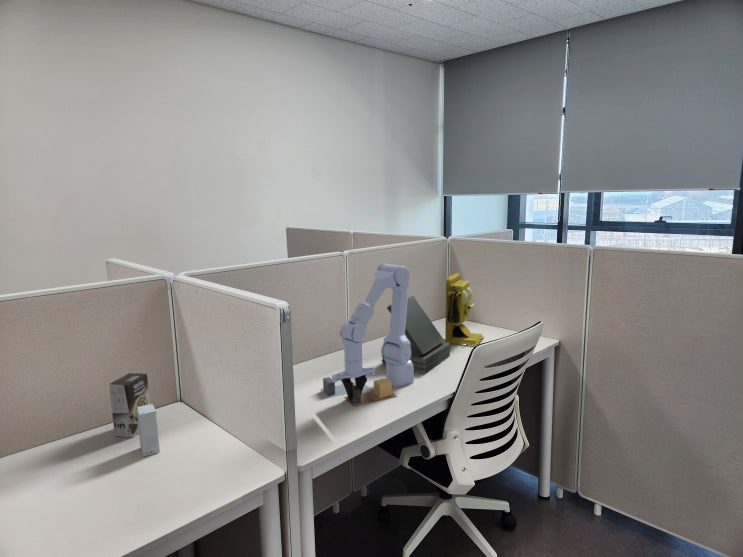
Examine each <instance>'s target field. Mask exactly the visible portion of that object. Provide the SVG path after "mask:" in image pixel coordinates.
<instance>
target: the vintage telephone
mask: <svg viewBox="0 0 743 557" xmlns="http://www.w3.org/2000/svg"><path fill="white" fill-rule="evenodd" d="M472 297H473V290H472V288H471V287H470V281H469V280H462V279H461V274H460V273H459V272H456V273H454V274H452V275H451V276H448V277H447V278H446V280H445V335H444V336H445V339H444V340H445V341H444V342H446V343H455V344H454V345H456V344H458V345H457V346H459V347H460V348H465V347H469V346H468V345H473V346H475V345H477V344H478V345H479V344H480V343H481V342H480V340H481V339H482V337H483V336H484V335H483V334H482V333H476V332H475V333H474V332H471V331H470V329H469V328H468V327H467V326H466V325H465V324H463V323H464V322H465V321H467V319H469V315H470V309H472V307H474V306H475V305H476V304H475V303H474V302H473V303H472V304H470V301H471V300H472ZM482 340H483V339H482ZM482 340H481V341H482ZM479 342H480V343H479ZM459 344H466V346H464V345H463V346H462V345H459ZM478 345H477V346H478Z"/></svg>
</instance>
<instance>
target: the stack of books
mask: <svg viewBox="0 0 743 557" xmlns="http://www.w3.org/2000/svg"><path fill="white" fill-rule="evenodd" d="M391 307H392V304H390V305H388V306H387V307H386V309H387V311H388V312H389V313H390V314H391ZM405 336H406V338H407V339H408V340H409V341H410V348H411V357H410V359H409V360H411V362H412V364H413V367H414V372H415V373H418V374H424V375H426V374H428V373H429V372H431V371H432V370H433V369H435V368H436V367H438V366H439V365H440V364H442V363H443V362H444V361H446V360H447V359H449V358H450V357H451V344H450V343H446V342H445V339H444V337H443V336H442V334H441V333H440V331H439V330H438V328H436V326H435V325H434V324H433V322H432V320H431V319H430V317H429V316H428V314H426V312H425V310H424V309H423V307H422V306H421V305H420V304H419V302H418V300H417V299H416V298H415V296H414V295H412V296H408V300H407V312H406V324H405ZM449 356H450V357H449ZM381 357H382V360H381V362H382V363H381V364H382V366H385V367H386V361H385V358H384V357H383V356H382V354H381ZM448 357H449V358H448ZM445 359H446V360H445ZM442 361H443V362H442ZM441 362H442V363H441ZM437 365H438V366H437Z"/></svg>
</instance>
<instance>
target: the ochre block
mask: <svg viewBox="0 0 743 557" xmlns="http://www.w3.org/2000/svg"><path fill="white" fill-rule="evenodd" d="M392 388H393V386H392V383H391V382H390V381H389V380H387V379H386V377H385V378H381V379H375V380H373V391H374V394H375V395H377V396H378V397H379V398H383V397H387V396H392V393H393V391H392V390H393V389H392Z"/></svg>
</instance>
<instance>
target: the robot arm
mask: <svg viewBox="0 0 743 557" xmlns="http://www.w3.org/2000/svg"><path fill="white" fill-rule="evenodd" d="M374 278H375V279H374V281H373V283H372V285H371V288H370V289H369V291H368V293H367V295H366V297H365V300H364V301H363V302H360V303H358V304H357V306H356V308H355V310H354V311H353V313H352V315H351V317H350V318H349V320H348V321H347V322H345V323H344V324H343V325H342V326H341V327H340V331H339V335H340V336H339V337H341V339H342V344H343V348H344V349H343V351H344V354H343V356H344V370H343V371H340V372H337V373H334V374H331V379H332V381H333V382H335V383H337V382H338V381H341V383H342V385H344V387H345V389H346V392H347V394H346V395H347V396H348V399H349V400H350V401H351V400H352V387H353V383H354V382H355V383H356V386H357V387H358V388H359V389H360V390H361V394H362V393H363V391H362V390H363V388H364V385H365V384H366V383H367V381H368V377H366V376H370V375H372V376H373V375H375V374H376V369H375V367H373V366H371V367H363V342H362V341H363V340H364V339H365V337H366V333H367V329H368V324H369V322H370V320H371V319H372V317H373V315H374V313H375V309H374V307H375V305H376V304H377V302H378V301H379V300H380V298H381V296H383V294H384V292H385V291H386V289H389V288H390V289H391V290H392V293H391V294H392V297H391V305H392V307H391V313H390V320H389V321H390V322H389V333H388V335H386V336H385V337H383V343H382V346H381V349H380V353H381V355H382V356H383V357H384V358H385V361H386V366H385V372H386V373H385V375H386V377H385V378H386V379H387V380H389V381H390V382H391V383H392V387H402V386H405V385H408V384H413V383H414V382H415V380H414V379H415V378H414V377H415V375H414V374H415V373H414V367H413V364H412V362H411V360H409V359H410V357H411V348H410V341H409V340H408V339H407V338H406V335H405V324H406V312H407V300H408V298H409V286H410V285H409V283H410V271H409V269H408V268H407V266H405V265H402V264H401V265H400V264H390V263H386V262H382V263H380V264H379V265H378V267H377V269H376V271H375V273H374ZM352 379H354V382H353V381H352ZM366 385H367V384H366ZM347 396H346V397H347Z"/></svg>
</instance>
